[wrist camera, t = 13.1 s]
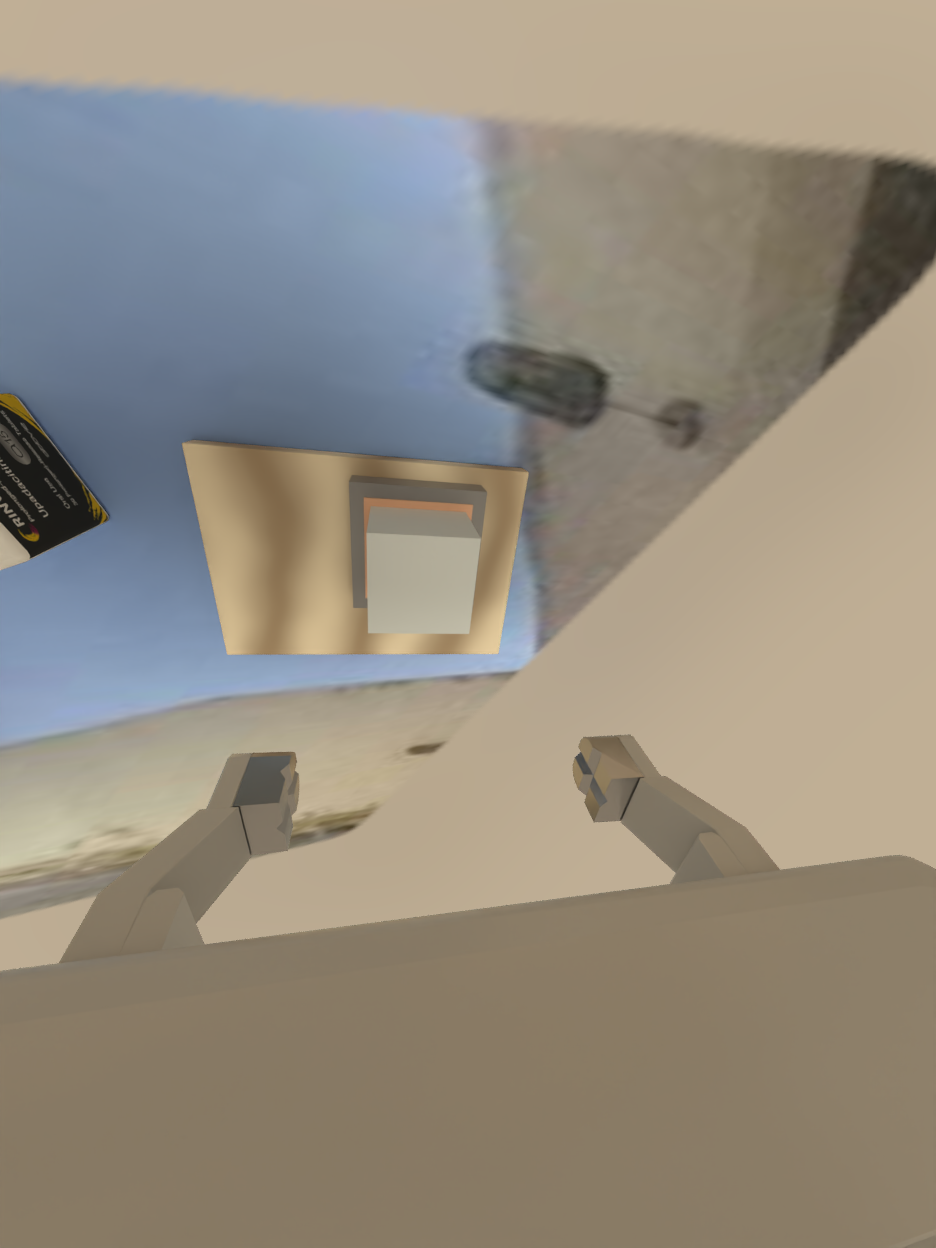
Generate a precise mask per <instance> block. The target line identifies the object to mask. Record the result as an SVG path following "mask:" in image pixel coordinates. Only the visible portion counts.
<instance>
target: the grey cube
mask: <svg viewBox="0 0 936 1248" xmlns="http://www.w3.org/2000/svg"><path fill="white" fill-rule="evenodd" d="M366 535H367V599H368V633H401V634H469V632H470V624H471V616H472V607H473V599H474V591H475V583H476V575H477V567H478V559H479V551H480V543H481V538H480V536H479V534H478V533H477V531H476V529H475V527H474V526H473V524H472V522H471V520H470V519H469V517H468V515H467V513H466V512H457V511H441V510H426V509H410V508H394V507H378V506H371V508H370V514H369V520H368V526H367V533H366Z"/></svg>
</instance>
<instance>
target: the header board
mask: <svg viewBox="0 0 936 1248" xmlns="http://www.w3.org/2000/svg"><path fill="white" fill-rule="evenodd" d="M182 446H183V451H184V456H185V460H186V465H187V470H188V474H189V479H190V484H191V488H192V493H193V497H194V502H195V507H196V511H197V516H198V521H199V525H200V530H201V535H202V539H203V544H204V549H205V553H206V558H207V563H208V567H209V572H210V576H211V581H212V586H213V590H214V595H215V600H216V604H217V609H218V614H219V618H220V623H221V628H222V632H223V637H224V641H225V646H226V651H227V655H242V654H498V652H499V646H500V640H501V634H502V628H503V622H504V616H505V610H506V604H507V598H508V592H509V587H510V581H511V575H512V569H513V563H514V557H515V551H516V545H517V539H518V533H519V527H520V521H521V515H522V509H523V503H524V497H525V491H526V485H527V479H528V473H529V472H527V471H526V470H524V469H523V468H514V467H503V466H491V465H480V464H468V463H456V462H445V461H433V460H421V459H410V458H398V457H387V456H375V455H363V454H352V453H340V452H329V451H317V450H305V449H294V448H282V447H270V446H259V445H247V444H236V443H224V442H212V441H201V440H191V441H187V442H184V443H182ZM371 506H378V507H394V508H410V509H426V510H441V511H457V512H466V513H467V515H468V517H469V519H470V520H471V522H472V524H473V526H474V527H475V529H476V531H477V533H478V534H479V536H480V538H481V543H480V551H479V559H478V567H477V575H476V583H475V591H474V599H473V607H472V616H471V624H470V632H469V634H401V633H368V599H367V535H366V533H367V526H368V520H369V514H370V508H371Z"/></svg>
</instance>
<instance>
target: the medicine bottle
mask: <svg viewBox="0 0 936 1248" xmlns="http://www.w3.org/2000/svg"><path fill="white" fill-rule="evenodd" d="M108 519H109V516H108V514H107V512H106V511H105V510H104V509H103V507H102V506H101V505H100V503H99V502H98V501H97V499H96V498H95V497H94V496H93V494H92V493H91V492H90V490H89V489H88V488H87V487H86V485H85V484H84V483H83V481H82V480H81V479H80V477H79V476H78V475H77V474H76V472H75V471H74V470H73V468H72V467H71V466H70V464H69V463H68V462H67V461H66V459H65V458H64V457H63V455H62V454H61V453H60V451H59V450H58V449H57V448H56V446H55V445H54V444H53V442H52V441H51V440H50V438H49V437H48V436H47V435H46V433H45V432H44V431H43V429H42V428H41V427H40V425H39V424H38V423H37V422H36V420H35V419H34V418H33V416H32V415H31V414H30V412H29V411H28V410H27V409H26V407H25V406H24V405H23V403H22V402H21V401H20V399H19V398H17V397H16V396H14V395H12V394H0V570H2V569H5V568H8V567H11V566H14V565H17V564H20V563H23V562H26V561H28V560H30V559H32V558H34V557H36V556H38V555H40V554H43V553H45V552H47V551H49V550H51V549H53V548H55V547H57V546H59V545H61V544H63V543H65V542H67V541H69V540H71V539H73V538H75V537H77V536H79V535H81V534H83V533H85V532H87V531H89V530H91V529H93V528H95V527H97V526H99V525H101V524H103V523H105V522H107V521H108Z"/></svg>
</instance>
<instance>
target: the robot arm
mask: <svg viewBox="0 0 936 1248" xmlns="http://www.w3.org/2000/svg"><path fill="white" fill-rule="evenodd" d="M579 749H580V751H581V752H580V754H578V755H577V756H576V757H575V759H574V763H573V776H574V780H575V783H576V785H577V788H578V789H579V790H580V791H581V792H582V793H584V794H585V795H586V799H585V804H586V807H587V809H588V811H589V813H590V815H591V817H592V819H593V821H594V822H608V821H621V823H622V824H623V825H624V826H626V827H627V828H628V829H629V830H630V831H631V832H632V833H633V834H634V835H635V836H636V837H637V838H639V839H640V840H641V841H642V842H643V843H644V844H645V845H646V846H647V847H648V848H649V849H650V850H651V851H653V852H654V853H655V854H656V855H657V856H658V857H659V858H660V859H661V860H662V861H663V862H664V863H666V864H667V865H668V866H669V867H670V868H671V869H672V870H673V871H674V872H676V874H675V876H674V877H673V879H672V880H671V882H670V884H667V885H660V886H652V887H645V888H637V889H629V890H622V891H613V892H606V893H599V894H591V895H583V896H575V897H567V898H560V899H552V900H545V901H536V902H529V903H521V904H513V905H506V906H498V907H491V908H483V909H475V910H468V911H460V912H452V913H445V914H437V915H430V916H422V917H414V918H407V919H399V920H391V921H383V922H375V923H367V924H360V925H352V926H344V927H337V928H329V929H321V930H313V931H306V932H298V933H290V934H283V935H275V936H267V937H259V938H252V939H244V940H236V941H229V942H220V943H213V944H206V945H204V942H203V940H202V937H201V935H200V932H199V930H198V927H197V925H196V923H197V922H198V921H199V920H200V918H201V917H202V916H203V915H204V914H205V912H206V911H207V910H208V909H209V908H210V906H211V905H212V904H213V903H214V901H215V900H216V899H217V898H218V897H219V895H220V894H221V893H222V892H223V890H224V889H225V888H226V887H227V886H228V884H229V883H230V882H231V881H232V880H233V878H234V877H235V876H236V875H237V874H238V872H239V871H240V870H241V869H242V868H243V866H244V865H245V864H246V863H247V861H248V860H249V859H250V858H251V856H250V855H257V854H265V853H273V852H282V851H288V846H289V842H290V837H291V833H292V828H293V823H292V817H291V815H292V814H293V813H294V812H295V811H296V809H297V804H298V798H299V774H298V773H297V772H296V771H295V768H296V763H297V760H296V754H295V752H270V753H245V754H232V755H231V756H230V757H229V758H228V760H227V762H226V764H225V767H224V769H223V771H222V774H221V776H220V778H219V781H218V783H217V785H216V788H215V790H214V792H213V795H212V797H211V799H210V802H209V804H208V806H207V809H202V810H199V811H198V812H196V813H195V814H194V815H193V816H192V817H190V818H189V819H188V820H187V821H186V822H184V823H183V824H182V825H181V826H179V827H178V828H177V829H176V830H175V831H173V832H172V833H171V834H170V835H169V836H167V837H166V838H165V839H164V840H163V841H161V842H160V843H159V844H158V845H157V846H155V847H154V848H153V849H152V850H151V851H149V852H148V853H147V854H146V855H145V856H143V857H142V858H141V859H140V860H139V861H137V862H136V863H135V864H134V865H133V866H131V867H130V868H129V869H128V870H126V871H125V872H124V873H123V874H122V875H120V876H119V877H118V878H117V879H116V880H114V881H113V882H112V883H111V884H110V885H108V886H107V887H106V888H105V889H104V890H102V891H101V892H100V893H99V894H98V895H97V897H96V899H95V901H94V902H93V904H92V906H91V908H90V909H89V911H88V913H87V915H86V916H85V919H84V920H83V922H82V923H81V925H80V927H79V929H78V930H77V932H76V934H75V936H74V937H73V939H72V941H71V943H70V944H69V946H68V948H67V950H66V952H65V953H64V955H63V957H62V958H61V960H60V962H59V963H58V964H50V965H42V966H34V967H26V968H19V969H11V970H3V971H0V1248H936V869H934V868H933V867H931V866H929V865H926V864H924V863H922V862H920V861H918V860H916V859H914V858H911V857H907V856H901V855H893V856H883V857H876V858H868V859H860V860H852V861H845V862H837V863H829V864H822V865H814V866H806V867H799V868H791V869H783V870H780V869H779V868H778V867H777V865H776V864H775V863H774V862H773V860H772V859H771V858H770V857H769V855H768V854H767V853H766V852H765V850H764V849H763V848H762V847H761V845H760V844H759V843H758V842H757V840H756V839H755V838H754V837H753V836H752V834H751V833H750V832H749V831H748V829H747V828H746V827H744V826H743V825H741V824H740V823H738V822H737V821H735V820H733V819H732V818H730V817H729V816H727V815H726V814H724V813H722V812H721V811H719V810H718V809H716V808H715V807H713V806H711V805H710V804H708V803H707V802H705V801H704V800H702V799H701V798H699V797H697V796H696V795H694V794H693V793H691V792H689V791H688V790H687V789H685V788H683V787H682V786H680V785H679V784H677V783H675V782H674V781H672V780H671V779H669V778H668V777H666V776H661V775H660V774H659V773H658V771H657V770H656V768H655V767H654V765H653V764H652V763H651V761H650V760H649V758H648V757H647V755H646V754H645V753H644V751H643V750H642V748H641V747H640V746H639V744H638V743H637V741H636V740H635V738H634V737H633V736H631V735H615V736H597V737H583V739H581V741H580V743H579Z"/></svg>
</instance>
